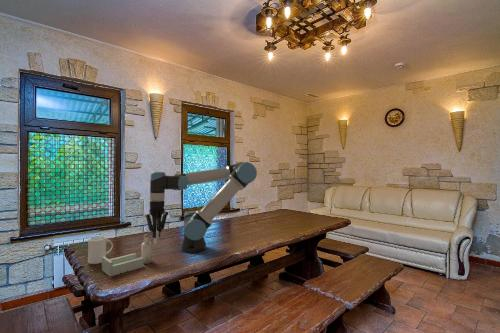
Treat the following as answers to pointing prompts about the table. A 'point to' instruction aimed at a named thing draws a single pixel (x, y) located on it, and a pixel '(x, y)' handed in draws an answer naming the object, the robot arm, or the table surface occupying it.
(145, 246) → the bottle
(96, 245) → the mug
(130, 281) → the table surface
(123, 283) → the table surface
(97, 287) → the table surface
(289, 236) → the table surface
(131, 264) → the cradle
